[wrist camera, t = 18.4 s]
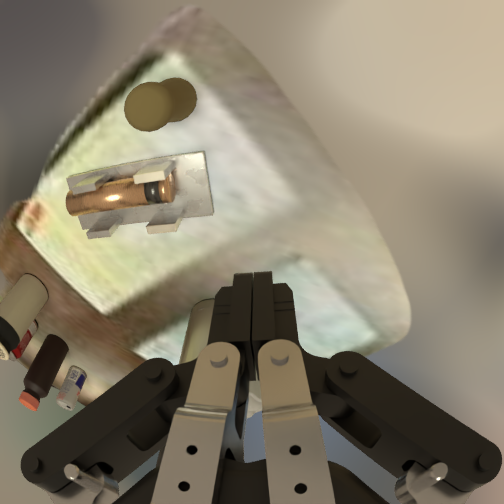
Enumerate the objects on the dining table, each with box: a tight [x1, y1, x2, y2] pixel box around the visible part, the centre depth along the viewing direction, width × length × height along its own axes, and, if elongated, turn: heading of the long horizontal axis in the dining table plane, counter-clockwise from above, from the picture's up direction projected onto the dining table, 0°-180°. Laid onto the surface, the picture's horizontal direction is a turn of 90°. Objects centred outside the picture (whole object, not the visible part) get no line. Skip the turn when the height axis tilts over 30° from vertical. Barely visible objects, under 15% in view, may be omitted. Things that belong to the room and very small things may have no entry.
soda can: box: [9, 320, 37, 361], centre depth 53 cm, size 7×7×12 cm
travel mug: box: [0, 274, 48, 360], centre depth 44 cm, size 8×8×18 cm
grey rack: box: [66, 151, 214, 239], centre depth 38 cm, size 9×22×6 cm, turn 95°
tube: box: [66, 173, 176, 216], centre depth 38 cm, size 16×4×4 cm, turn 95°
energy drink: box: [56, 366, 86, 411], centre depth 63 cm, size 5×5×12 cm
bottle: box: [19, 335, 68, 411], centre depth 53 cm, size 7×7×20 cm
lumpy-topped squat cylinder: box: [247, 371, 262, 418], centre depth 61 cm, size 10×13×9 cm
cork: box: [124, 78, 197, 132], centre depth 29 cm, size 6×6×11 cm
